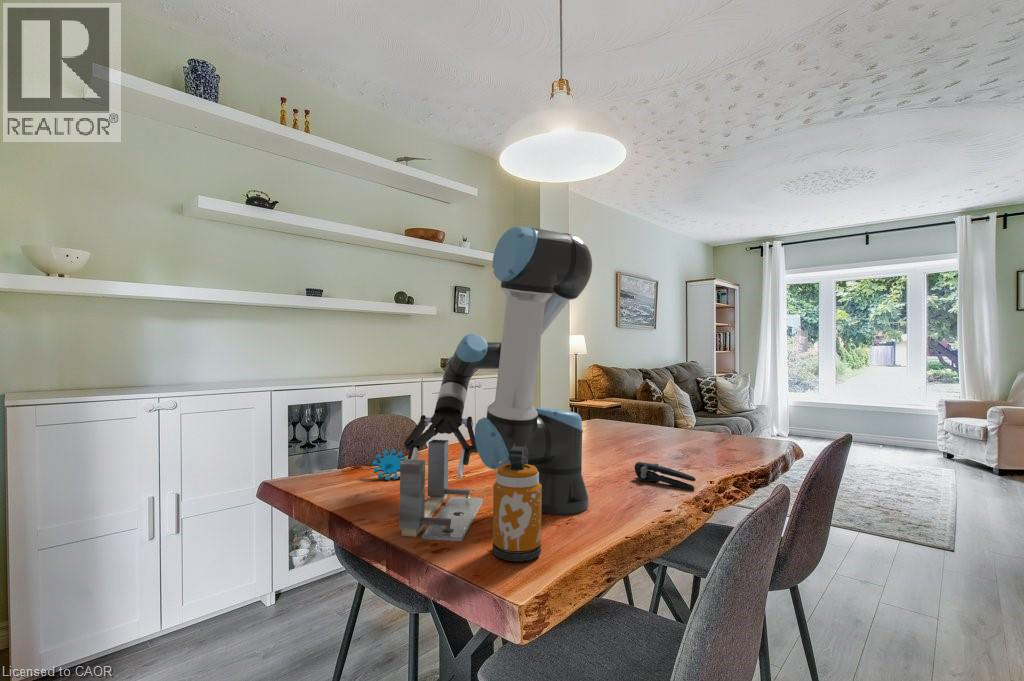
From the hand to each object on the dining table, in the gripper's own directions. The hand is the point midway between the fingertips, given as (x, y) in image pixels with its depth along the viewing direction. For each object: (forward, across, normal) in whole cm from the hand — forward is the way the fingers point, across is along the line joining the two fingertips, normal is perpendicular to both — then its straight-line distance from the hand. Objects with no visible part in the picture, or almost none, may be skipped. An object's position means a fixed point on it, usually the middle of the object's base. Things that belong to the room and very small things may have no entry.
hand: (434, 474), depth 116 cm
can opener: (-14, -59, -25) cm, 66 cm away
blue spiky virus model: (-10, +19, -21) cm, 30 cm away
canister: (+22, -22, +11) cm, 33 cm away
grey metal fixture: (+10, -3, -1) cm, 10 cm away
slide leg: (+2, -3, -6) cm, 7 cm away
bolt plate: (+11, -7, 0) cm, 13 cm away
